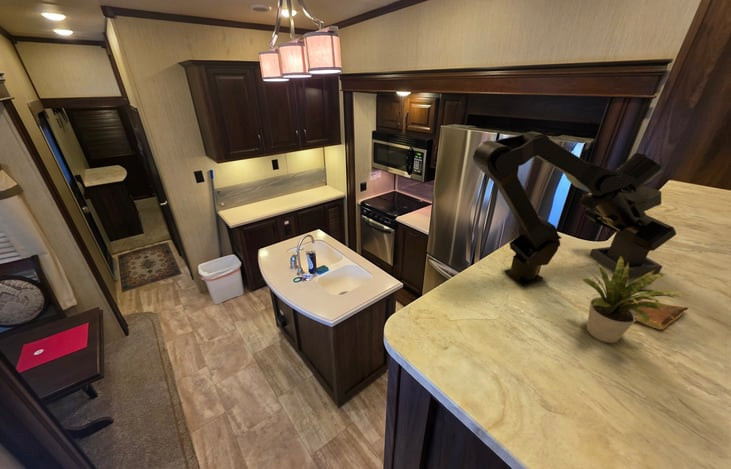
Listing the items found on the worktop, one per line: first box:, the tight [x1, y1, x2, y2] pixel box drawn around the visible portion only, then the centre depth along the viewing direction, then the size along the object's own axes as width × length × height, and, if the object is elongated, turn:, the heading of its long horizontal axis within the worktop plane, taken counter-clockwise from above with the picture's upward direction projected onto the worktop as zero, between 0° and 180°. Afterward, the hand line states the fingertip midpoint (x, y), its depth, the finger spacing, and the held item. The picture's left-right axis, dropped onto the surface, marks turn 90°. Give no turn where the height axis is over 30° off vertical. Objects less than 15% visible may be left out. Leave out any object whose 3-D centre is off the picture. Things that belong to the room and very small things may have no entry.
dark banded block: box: [606, 214, 660, 268], centre depth 73 cm, size 5×6×13 cm
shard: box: [634, 299, 689, 331], centre depth 59 cm, size 11×8×2 cm
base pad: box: [589, 246, 663, 278], centre depth 76 cm, size 10×10×2 cm
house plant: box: [581, 256, 690, 343], centre depth 53 cm, size 14×14×16 cm
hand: (637, 239), depth 73 cm, fingers open, 8 cm apart
